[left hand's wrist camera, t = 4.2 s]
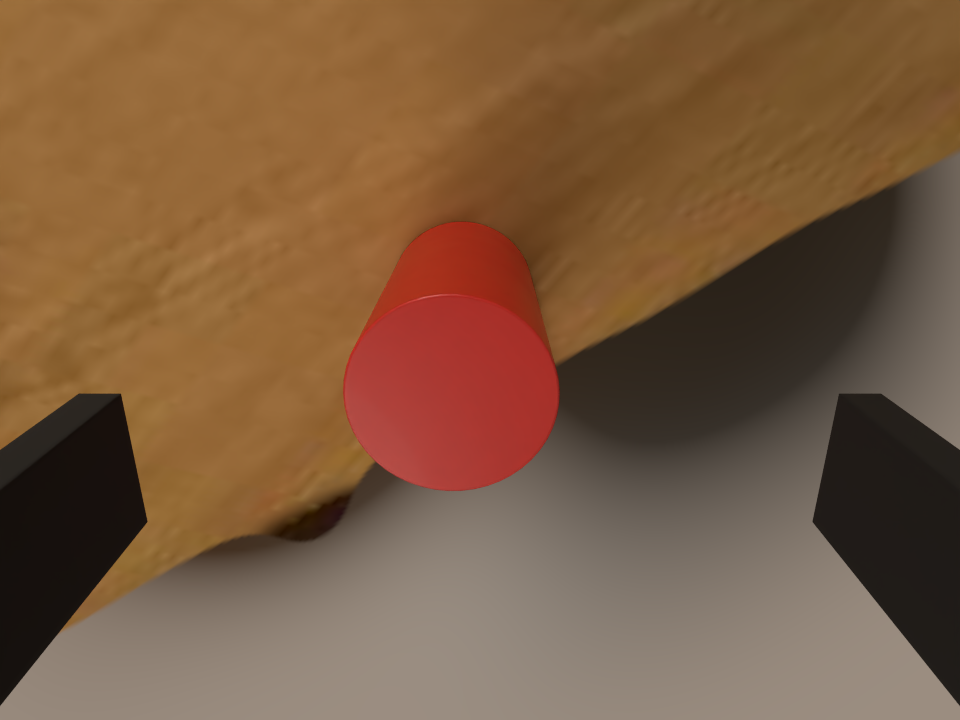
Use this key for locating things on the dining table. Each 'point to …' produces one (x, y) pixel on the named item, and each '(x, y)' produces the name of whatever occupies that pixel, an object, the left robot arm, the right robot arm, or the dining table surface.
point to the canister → (454, 364)
